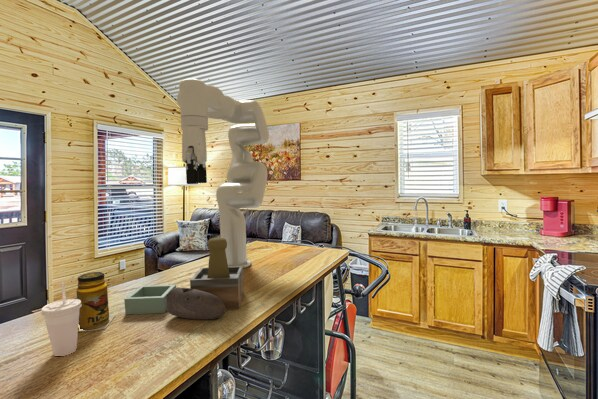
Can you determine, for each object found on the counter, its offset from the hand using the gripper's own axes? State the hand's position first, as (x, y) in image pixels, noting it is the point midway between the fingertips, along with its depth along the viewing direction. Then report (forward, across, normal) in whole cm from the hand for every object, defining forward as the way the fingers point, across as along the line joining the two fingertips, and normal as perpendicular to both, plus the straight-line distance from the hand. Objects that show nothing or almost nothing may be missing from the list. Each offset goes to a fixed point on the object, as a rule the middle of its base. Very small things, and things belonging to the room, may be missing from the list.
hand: (197, 183), depth 94 cm
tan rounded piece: (+26, +9, +7) cm, 28 cm away
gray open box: (+32, +10, +7) cm, 34 cm away
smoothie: (+32, +32, -19) cm, 49 cm away
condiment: (+32, +20, -21) cm, 44 cm away
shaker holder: (+32, +10, -11) cm, 35 cm away
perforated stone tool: (+33, +19, +4) cm, 38 cm away
